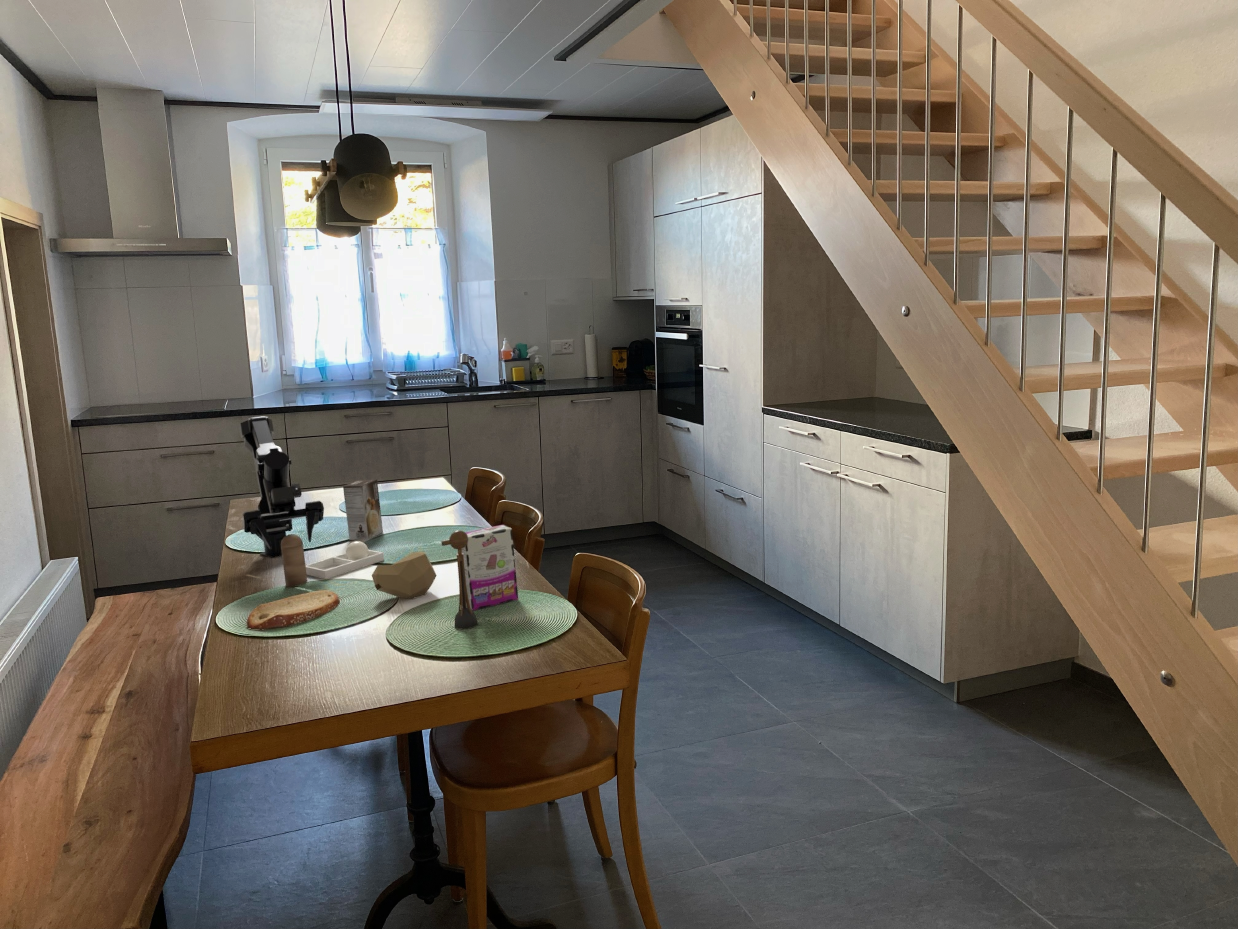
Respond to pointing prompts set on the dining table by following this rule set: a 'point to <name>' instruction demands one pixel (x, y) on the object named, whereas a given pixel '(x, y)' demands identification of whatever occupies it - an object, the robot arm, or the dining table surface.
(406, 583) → the low-poly potato
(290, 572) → the brown domed cylinder
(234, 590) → the dining table surface
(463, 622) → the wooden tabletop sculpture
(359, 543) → the cream white ball
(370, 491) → the coffee box
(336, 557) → the white divided tray
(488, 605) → the candy bar box
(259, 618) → the slice of bread
